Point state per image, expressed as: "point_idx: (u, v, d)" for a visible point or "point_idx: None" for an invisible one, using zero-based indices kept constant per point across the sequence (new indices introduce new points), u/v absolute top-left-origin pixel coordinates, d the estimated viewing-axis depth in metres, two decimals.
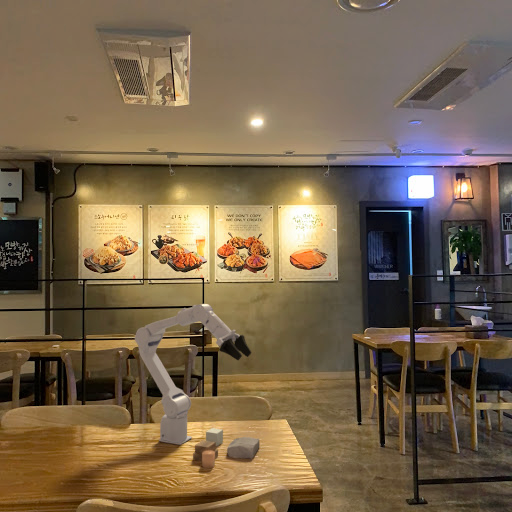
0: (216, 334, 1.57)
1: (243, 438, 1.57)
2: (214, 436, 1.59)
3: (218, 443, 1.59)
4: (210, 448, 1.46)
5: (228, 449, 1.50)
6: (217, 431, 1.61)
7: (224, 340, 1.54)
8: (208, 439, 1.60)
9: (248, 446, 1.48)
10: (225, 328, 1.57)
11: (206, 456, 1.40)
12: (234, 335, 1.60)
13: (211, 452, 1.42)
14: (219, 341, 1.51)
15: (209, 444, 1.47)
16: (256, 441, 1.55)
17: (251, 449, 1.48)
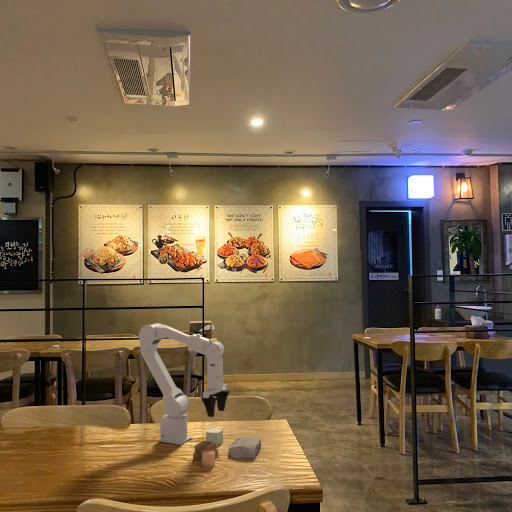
0: (209, 380, 1.60)
1: (244, 438, 1.57)
2: (214, 436, 1.59)
3: (218, 443, 1.59)
4: (210, 448, 1.46)
5: (230, 449, 1.49)
6: (217, 431, 1.61)
7: None
8: (208, 439, 1.60)
9: (250, 446, 1.48)
10: (220, 382, 1.60)
11: (206, 456, 1.40)
12: None
13: (211, 452, 1.42)
14: (206, 395, 1.56)
15: (209, 444, 1.47)
16: (258, 441, 1.55)
17: (253, 449, 1.48)
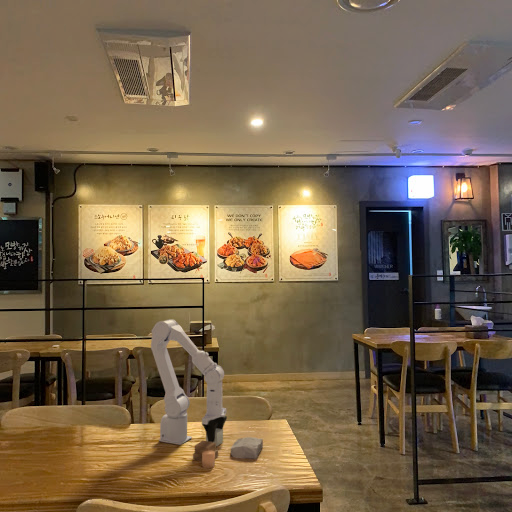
0: (208, 406, 1.60)
1: (246, 438, 1.57)
2: None
3: (218, 443, 1.59)
4: (210, 448, 1.46)
5: (232, 449, 1.49)
6: (217, 431, 1.61)
7: None
8: None
9: (252, 446, 1.48)
10: (219, 408, 1.60)
11: (206, 456, 1.40)
12: None
13: (211, 452, 1.42)
14: (205, 421, 1.55)
15: (209, 444, 1.47)
16: (259, 441, 1.55)
17: (255, 449, 1.47)
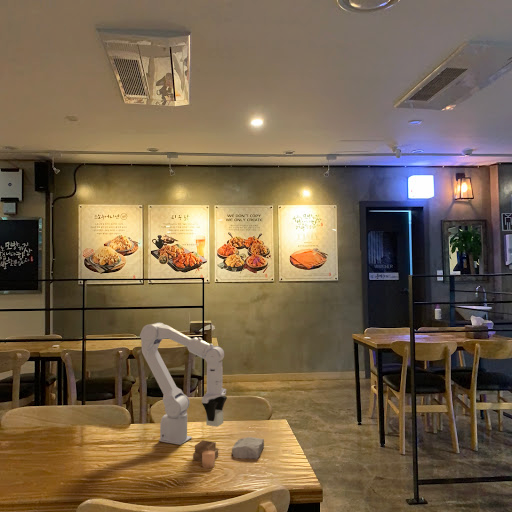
0: (209, 385, 1.60)
1: (247, 438, 1.57)
2: None
3: (218, 423, 1.60)
4: (210, 448, 1.46)
5: (233, 450, 1.49)
6: (217, 412, 1.61)
7: None
8: None
9: (253, 446, 1.48)
10: (219, 387, 1.60)
11: (206, 456, 1.40)
12: None
13: (211, 452, 1.42)
14: (205, 400, 1.56)
15: (209, 444, 1.47)
16: (261, 441, 1.54)
17: (256, 449, 1.47)
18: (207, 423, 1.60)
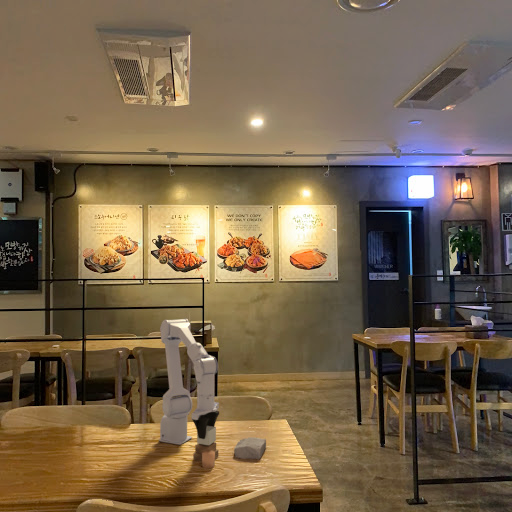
0: (199, 400, 1.47)
1: (250, 439, 1.57)
2: (206, 434, 1.46)
3: (210, 442, 1.46)
4: (210, 448, 1.46)
5: (235, 450, 1.49)
6: (209, 429, 1.48)
7: None
8: (199, 438, 1.47)
9: (255, 446, 1.48)
10: (210, 402, 1.47)
11: (206, 456, 1.40)
12: None
13: (211, 452, 1.42)
14: (195, 416, 1.42)
15: (210, 444, 1.47)
16: (263, 441, 1.54)
17: (258, 450, 1.47)
18: (198, 441, 1.47)
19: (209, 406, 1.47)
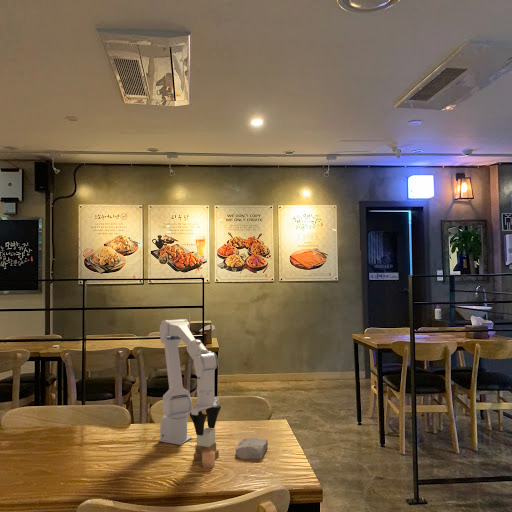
0: (199, 395, 1.47)
1: (251, 439, 1.56)
2: (206, 436, 1.46)
3: (210, 443, 1.46)
4: (211, 448, 1.46)
5: (237, 450, 1.49)
6: (209, 430, 1.48)
7: None
8: (199, 440, 1.47)
9: (257, 446, 1.48)
10: (210, 397, 1.47)
11: (206, 456, 1.40)
12: None
13: (211, 452, 1.42)
14: (195, 411, 1.42)
15: None
16: (264, 442, 1.54)
17: (260, 450, 1.47)
18: (197, 443, 1.47)
19: (209, 401, 1.47)
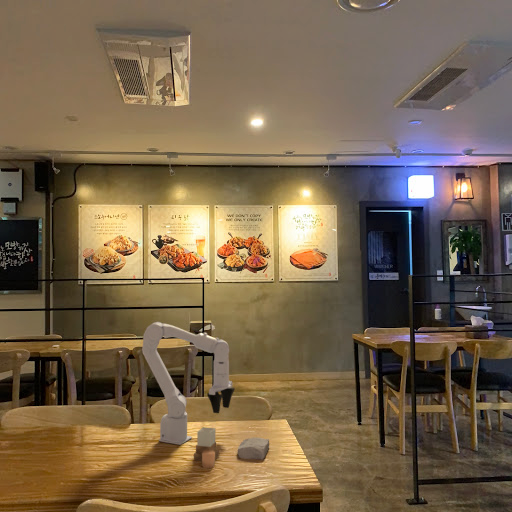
0: (215, 378, 1.65)
1: (253, 439, 1.56)
2: (207, 436, 1.46)
3: (211, 443, 1.46)
4: (211, 448, 1.46)
5: (239, 450, 1.49)
6: (209, 430, 1.48)
7: None
8: (199, 440, 1.46)
9: (259, 447, 1.48)
10: (225, 380, 1.65)
11: (206, 456, 1.40)
12: None
13: (211, 452, 1.42)
14: (212, 391, 1.60)
15: None
16: (266, 442, 1.54)
17: (262, 450, 1.47)
18: (198, 443, 1.47)
19: (224, 383, 1.65)
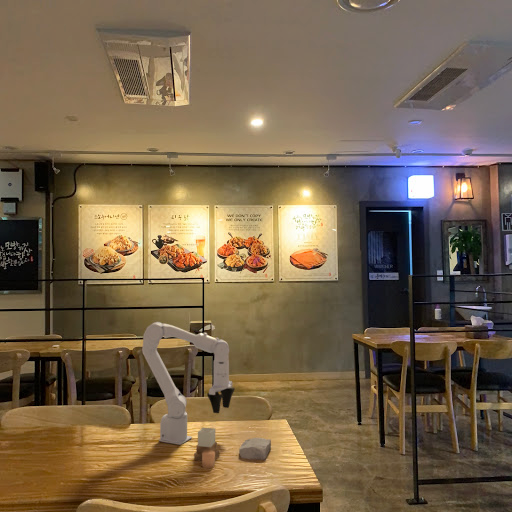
0: (215, 378, 1.65)
1: (254, 439, 1.56)
2: (207, 436, 1.45)
3: (211, 443, 1.46)
4: (212, 448, 1.46)
5: (240, 450, 1.48)
6: (210, 430, 1.47)
7: None
8: (200, 440, 1.46)
9: (260, 447, 1.47)
10: (225, 380, 1.65)
11: (206, 456, 1.40)
12: None
13: (211, 452, 1.42)
14: (212, 391, 1.60)
15: None
16: (268, 442, 1.54)
17: (264, 450, 1.47)
18: (199, 444, 1.46)
19: (224, 383, 1.65)
